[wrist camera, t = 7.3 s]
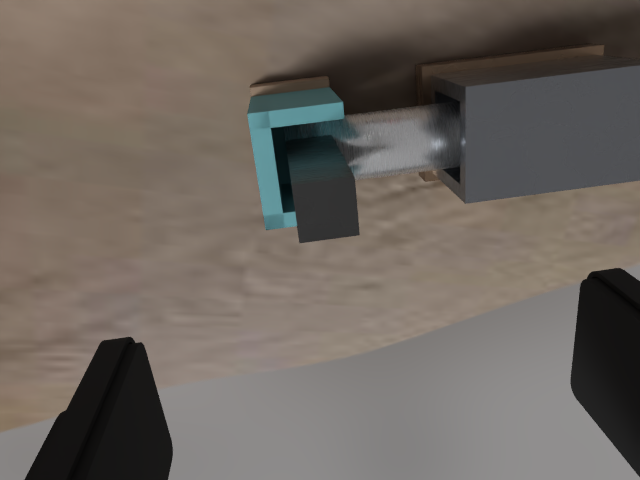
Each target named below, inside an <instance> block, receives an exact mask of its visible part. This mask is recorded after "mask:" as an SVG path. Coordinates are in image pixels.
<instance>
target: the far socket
mask: <svg viewBox="0 0 640 480" xmlns="http://www.w3.org/2000/svg"><path fill="white" fill-rule="evenodd" d="M250 93H251V100H250V104H249V109H248V113H247V115H248V121H249V127H250V134H251V140H252V146H253V153H254V159H255V165H256V171H257V178H258V184H259V190H260V196H261V203H262V209H263V215H264V222H265V228H266V230H270V229H278V228H285V227H293V226H297V221H296V214H295V207H294V200H293V193H292V186H291V178H290V171H289V163H288V156H287V148H286V141H285V133H284V126H291V125H299V124H307V123H315V122H323V121H331V120H339V119H344V108H343V101H342V100H341V99H340V98H339V97H338V96H337V95H336V94H335V93H334V91H333V90H332V89H331V88H330V85H329V78H328V77H327V76H320V77H312V78H304V79H295V80H287V81H279V82H271V83H262V84H254V85H250Z"/></svg>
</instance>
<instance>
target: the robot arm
mask: <svg viewBox="0 0 640 480" xmlns="http://www.w3.org/2000/svg"><path fill="white" fill-rule="evenodd" d="M571 388H572V391H573V393H574V396H575V397H576V399H577V400H578V401H579V403H580V404H581V405H582V406H583V407H584V409H585V410H586V411H587V412H588V414H589V415H590V416H591V417H592V419H593V420H594V421H595V422H596V423H597V425H598V426H599V427H600V428H601V430H602V431H603V432H604V433H605V435H606V436H607V437H608V438H609V439H610V441H611V442H612V443H613V445H614V446H615V447H616V448H617V449H618V451H619V452H620V453H621V454H622V456H623V457H624V458H625V459H626V460H627V462H628V463H629V464H630V466H631V467H632V468H633V469H634V471H636V473H637V474H638V475H639V477H640V281H639V280H637V279H636V278H634V277H633V276H631V275H630V274H629V273H627V272H626V271H624V270H623V269H621V268H615V269H608V270H601V271H594V272H591V273H590V274H589V275H588V277H587V279H585V280H583V281H582V283H581V286H580V294H579V304H578V313H577V323H576V332H575V342H574V352H573V362H572V371H571ZM172 456H173V447H172V441H171V437H170V433H169V430H168V426H167V423H166V420H165V416H164V413H163V410H162V406H161V402H160V399H159V395H158V392H157V388H156V385H155V381H154V378H153V374H152V371H151V367H150V364H149V360H148V357H147V353H146V350H145V347H144V345H143V343H141V342H140V343H135V341H134V340H133V338H131V337H126V338H119V339H111V340H104V341H102V342H101V343H100V345H99V347H98V349H97V351H96V353H95V355H94V357H93V359H92V360H91V362H90V364H89V366H88V368H87V370H86V372H85V374H84V376H83V378H82V380H81V382H80V384H79V386H78V388H77V390H76V392H75V394H74V396H73V398H72V400H71V402H70V404H69V406H68V408H67V410H66V411H64V412H62V413H60V414H59V416H58V417H57V419H56V420H55V422H54V424H53V426H52V428H51V430H50V432H49V434H48V436H47V438H46V440H45V441H44V443H43V445H42V448H41V449H40V451H39V453H38V455H37V457H36V459H35V461H34V463H33V464H32V467H31V468H30V470H29V472H28V474H27V476H26V478H25V480H168V476H169V472H170V467H171V462H172Z"/></svg>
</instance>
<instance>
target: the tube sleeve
mask: <svg viewBox="0 0 640 480" xmlns="http://www.w3.org/2000/svg"><path fill="white" fill-rule="evenodd" d="M603 54H604V45H601V44H583V45H575V46H567V47H559V48H551V49H542V50H534V51H526V52H518V53H509V54H501V55H493V56H485V57H476V58H468V59H460V60H452V61H444V62H435V63H427V64H419V65H415V66H416V96H417V106H422V105H430V104H439V103H447V102H455V101H460V167H454V168H446V169H439V170H431V171H423V172H419V176H420V177H421V178H422V179H423V180H424V181H425V182H427V181H434V180H441V181H442V182H443V183H444V184H445V185H446V186H447V187H448V188H449V189H450V190H452V191H453V192H454V193H455V194H456V195H457V196H458V197H459V198H460V199H461V200H462V201H463V202H464V203H465V204H466V203H473V202H481V201H488V200H496V199H504V198H511V197H519V196H526V195H534V194H541V193H549V192H556V191H564V190H571V189H579V188H586V187H594V186H601V185H609V184H616V183H624V182H631V181H639V180H640V59H631V58H622V57H613V56H603Z"/></svg>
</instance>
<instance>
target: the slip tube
mask: <svg viewBox="0 0 640 480" xmlns="http://www.w3.org/2000/svg"><path fill="white" fill-rule="evenodd" d="M284 133H285V141H286V148H287V156H288V163H289V171H290V178H291V186H292V193H293V200H294V207H295V214H296V221H297V229H298V236H299V243H304V242H312V241H319V240H327V239H334V238H341V237H349V236H356V235H359V223H358V211H357V199H356V187H355V180H362V179H369V178H377V177H385V176H393V175H400V174H408V173H416V172H423V171H431V170H439V169H446V168H454V167H460V101H455V102H447V103H439V104H430V105H422V106H414V107H406V108H398V109H390V110H382V111H374V112H366V113H358V114H350V115H344V119H339V120H331V121H323V122H315V123H307V124H299V125H291V126H284Z"/></svg>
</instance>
